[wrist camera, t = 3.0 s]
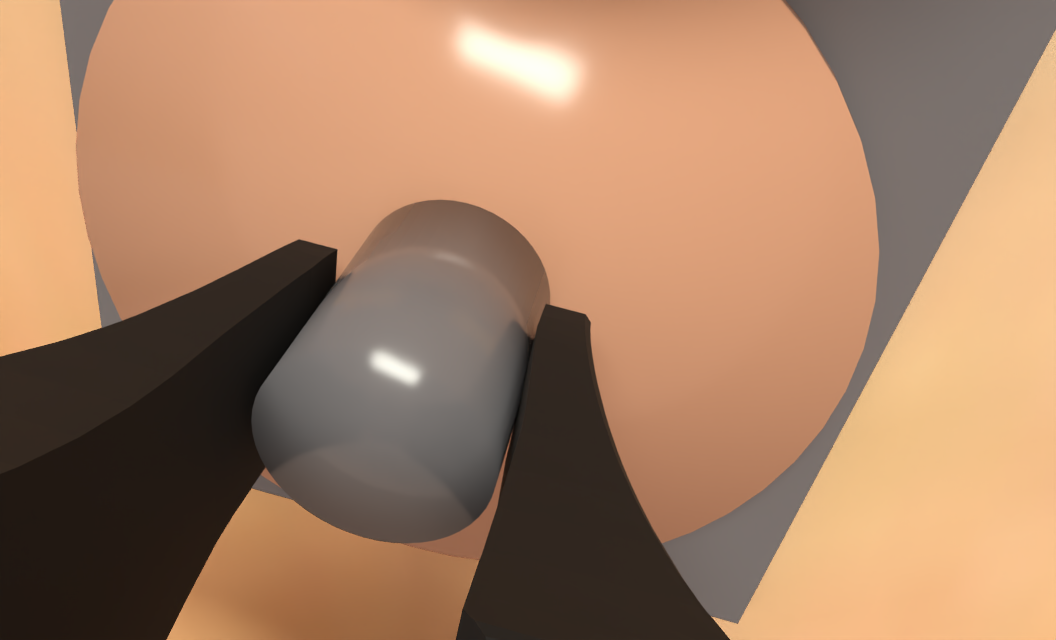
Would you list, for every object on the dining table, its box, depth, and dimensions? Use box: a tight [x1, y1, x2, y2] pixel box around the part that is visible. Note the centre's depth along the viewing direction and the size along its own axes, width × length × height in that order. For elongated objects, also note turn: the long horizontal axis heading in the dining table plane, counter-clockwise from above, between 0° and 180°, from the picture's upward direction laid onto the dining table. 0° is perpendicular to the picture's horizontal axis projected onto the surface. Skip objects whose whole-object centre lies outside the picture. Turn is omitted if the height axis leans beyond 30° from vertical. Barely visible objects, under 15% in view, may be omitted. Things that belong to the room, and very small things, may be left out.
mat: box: [60, 0, 1056, 624], centre depth 15 cm, size 14×14×1 cm
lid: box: [76, 0, 879, 560], centre depth 13 cm, size 13×13×5 cm
